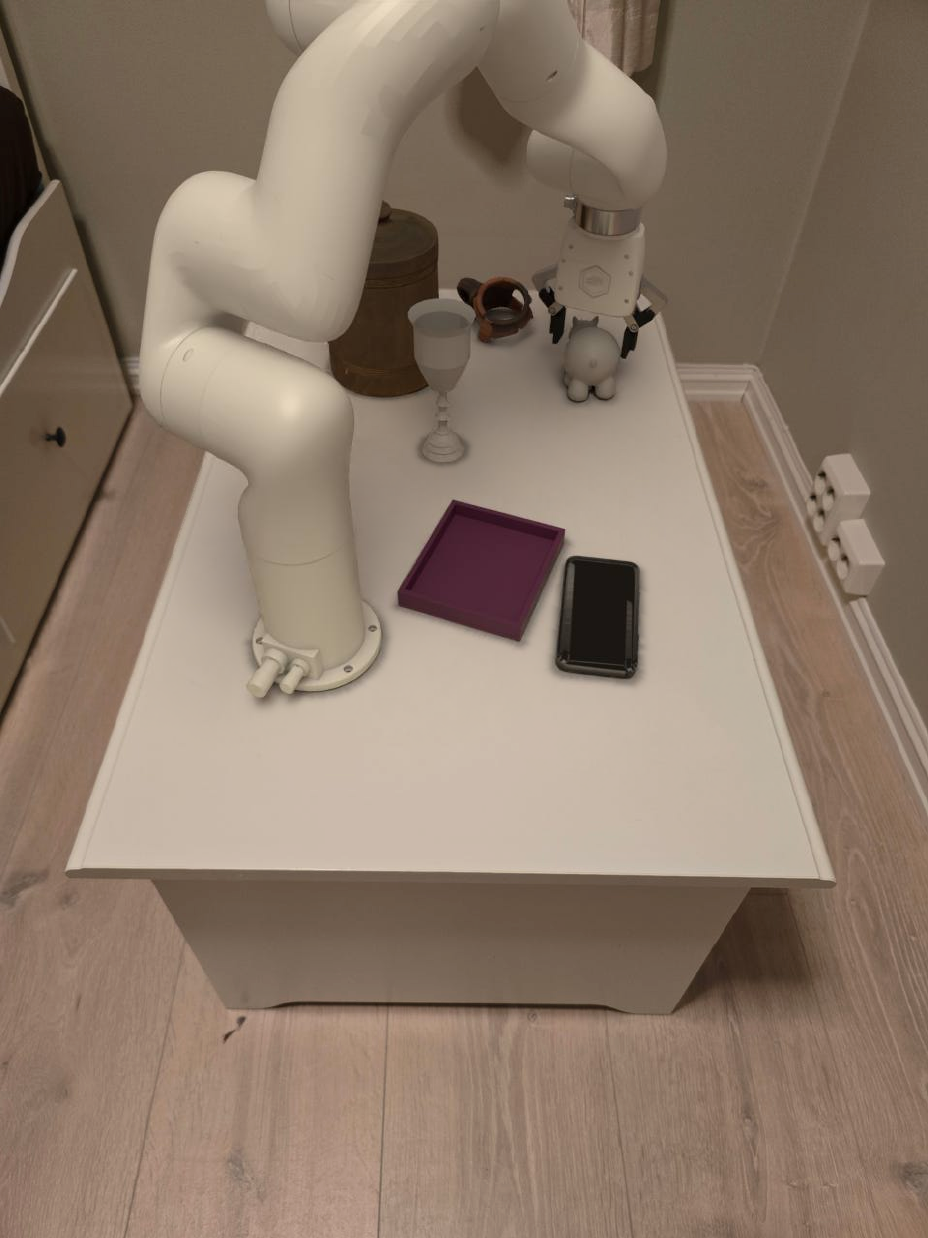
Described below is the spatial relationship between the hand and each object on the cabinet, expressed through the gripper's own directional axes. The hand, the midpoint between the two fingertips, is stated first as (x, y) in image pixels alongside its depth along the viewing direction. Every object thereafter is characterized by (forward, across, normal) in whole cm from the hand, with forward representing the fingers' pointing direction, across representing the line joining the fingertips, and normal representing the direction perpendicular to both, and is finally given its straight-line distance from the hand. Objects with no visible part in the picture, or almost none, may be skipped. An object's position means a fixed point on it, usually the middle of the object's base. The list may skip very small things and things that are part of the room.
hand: (591, 345), depth 116 cm
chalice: (+5, -12, -21) cm, 25 cm away
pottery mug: (+5, -16, +8) cm, 19 cm away
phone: (+5, +13, -41) cm, 43 cm away
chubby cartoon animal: (+5, 0, 0) cm, 5 cm away
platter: (+5, 0, -39) cm, 40 cm away
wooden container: (+5, -26, -7) cm, 28 cm away
